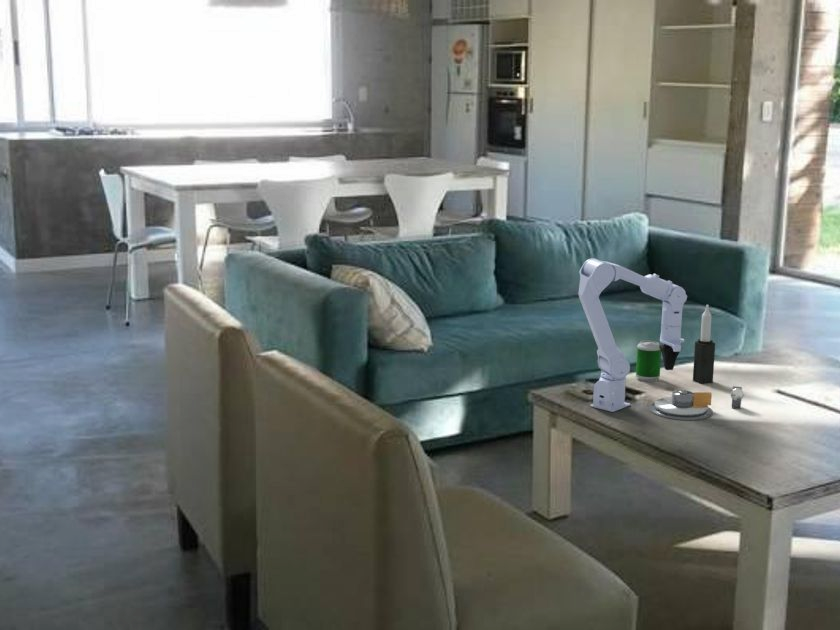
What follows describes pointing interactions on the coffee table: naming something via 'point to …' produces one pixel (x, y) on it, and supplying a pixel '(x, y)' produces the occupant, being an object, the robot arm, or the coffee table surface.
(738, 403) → the grey cube on chrome
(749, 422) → the coffee table surface
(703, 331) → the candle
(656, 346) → the soda can
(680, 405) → the cover
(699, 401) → the turntable
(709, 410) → the turntable base
